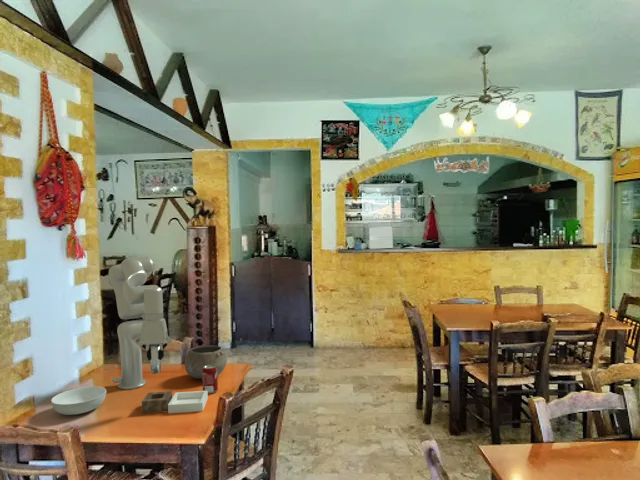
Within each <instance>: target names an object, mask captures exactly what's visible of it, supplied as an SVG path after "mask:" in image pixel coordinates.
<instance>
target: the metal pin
mask: <svg viewBox="0 0 640 480" xmlns="http://www.w3.org/2000/svg"><path fill="white" fill-rule="evenodd" d="M159 350H160V346H159V344H150V357H151V360H150V373H151V374H152V375H156V374H160V373H162V361H161V360H162V359H161V360H159Z"/></svg>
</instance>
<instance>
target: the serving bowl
mask: <svg viewBox="0 0 640 480" xmlns="http://www.w3.org/2000/svg"><path fill="white" fill-rule="evenodd" d="M106 396H107V389H106V388H105V387H102V386H84V387H83V386H82V387H78V388H73V389H70V390H66V391H63V392H61V393H60V392H59V393H58V394H56V395H55V396H53V397H52V398H51V399H50V402H51V406H52V409H53V410H54V411H55V412H56V413H58V414H61V415H66V416H71V415H72V416H73V415H75V416H76V415H82V414H85V413H88V412H90V411H92V410H95V409H96V408H98V407H100V406H101V405H102V403H103V402H104V401H105V398H106Z"/></svg>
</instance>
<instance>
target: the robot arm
mask: <svg viewBox="0 0 640 480" xmlns="http://www.w3.org/2000/svg"><path fill="white" fill-rule="evenodd" d="M153 261H154V260H152V258H150V257H148V256H139V257H137V256H136V257H127V258H125V259H123V261H121V263H120V264H119V263H118V264H115V265H112V266H111V267H109V269H108V279H109V282H110V285H111V287H112V289H113V290H114V291H113V292H114V294H115V300H116V307H117V314H118V317H119V318H120V319H121V320H130V319H134V320H130V321H124V322H122V323H120V324H119V325H118V326H117V337H118V342H119V349H120V350H119V353H120V370H121V373H120V374H121V376H120V377H113V378H112V382H113V384H114V383H115V384H116V383H118V385H117V388H118V389H120V390H127V391H128V390H134V389H139V388H142V387H144V386H146V385H147V380H146V379H144V378H143V358H142V357H143V356H142V355H143V353H142V349H144V350H145V351H146V358H147V360H148V361H151V357H150V344H159V346H160V350H159V360H162V359H164V357H165V351H164V350H165V348H166V347H167V346H168V345H170V344H172V342H173V341H172V339H171V337H170V336H169V335H168V334H169V333H168V328H167V322H166V319H165V318H164V305H163V304H164V303H163V302H164V301H163V300H164V299H163V298H164V297H163V290H162V287H159V286H158V285H156V284H149V285H144V284H145V283H146V282H147V279H148V277H149V276H151V274H153V272H154V270H155V265H154V264H155V263H154V262H153ZM137 318H142V319H138V320H137ZM135 319H136V320H135ZM136 341H138V343H137V342H136ZM141 347H142V348H141Z"/></svg>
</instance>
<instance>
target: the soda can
mask: <svg viewBox="0 0 640 480" xmlns="http://www.w3.org/2000/svg"><path fill="white" fill-rule="evenodd" d="M201 380H202V391H208V395H211V394H214V393H216V392H218V390H219V387H218V384H219V383H218V376H217V368H216V366H215V365H205V366H204V367H203V370H202V379H201Z"/></svg>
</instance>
